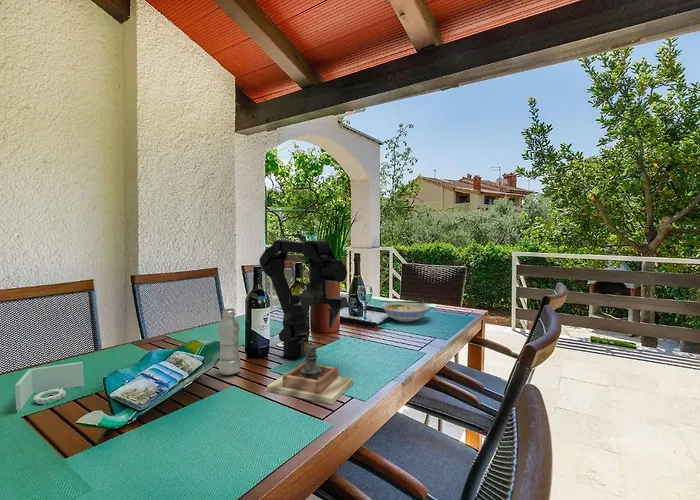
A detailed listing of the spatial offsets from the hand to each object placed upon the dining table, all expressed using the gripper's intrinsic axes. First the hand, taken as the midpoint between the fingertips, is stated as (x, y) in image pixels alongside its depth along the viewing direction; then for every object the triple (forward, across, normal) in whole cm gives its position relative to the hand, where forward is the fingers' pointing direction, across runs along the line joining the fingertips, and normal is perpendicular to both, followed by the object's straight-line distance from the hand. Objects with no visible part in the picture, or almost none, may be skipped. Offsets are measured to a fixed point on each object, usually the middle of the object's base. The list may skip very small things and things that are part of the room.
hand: (318, 326), depth 124 cm
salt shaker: (+12, +6, -16) cm, 20 cm away
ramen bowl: (+13, +10, +69) cm, 71 cm away
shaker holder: (+13, +6, -16) cm, 21 cm away
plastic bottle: (+13, -22, -17) cm, 31 cm away
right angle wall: (+14, -53, -49) cm, 74 cm away
